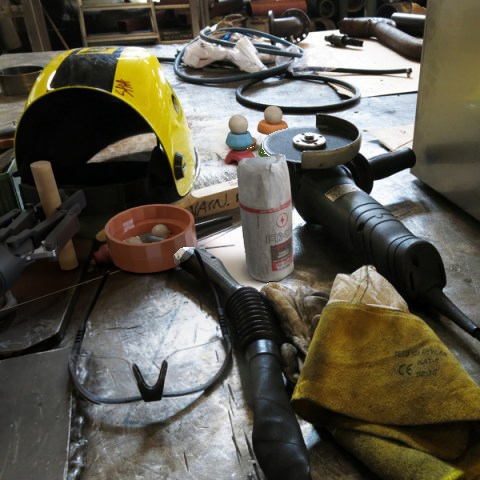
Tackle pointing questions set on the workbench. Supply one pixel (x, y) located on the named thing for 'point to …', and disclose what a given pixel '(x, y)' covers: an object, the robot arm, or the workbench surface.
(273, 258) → the spray can
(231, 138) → the multicoloured wooden toy
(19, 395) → the workbench surface
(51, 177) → the stick
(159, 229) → the bead
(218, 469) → the workbench surface
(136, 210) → the bowl
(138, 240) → the bead
